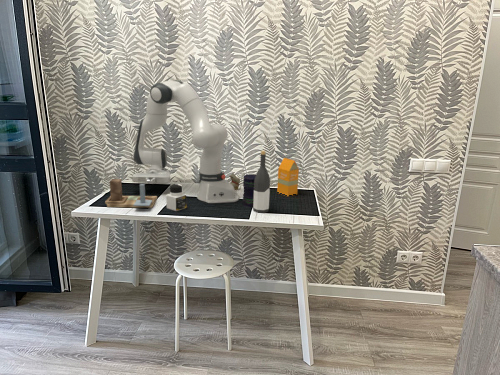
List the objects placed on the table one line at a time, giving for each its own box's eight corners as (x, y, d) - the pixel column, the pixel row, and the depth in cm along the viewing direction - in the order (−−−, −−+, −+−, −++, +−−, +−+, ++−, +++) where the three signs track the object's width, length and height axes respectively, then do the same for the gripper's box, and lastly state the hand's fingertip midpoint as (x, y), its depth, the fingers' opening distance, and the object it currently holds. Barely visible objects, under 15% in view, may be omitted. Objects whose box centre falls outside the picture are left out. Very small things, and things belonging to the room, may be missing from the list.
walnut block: (122, 199, 208) (121, 179, 205) (120, 202, 204) (118, 181, 201) (113, 199, 208) (112, 178, 205) (111, 202, 204) (109, 181, 201)
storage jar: (262, 207, 207) (263, 179, 203) (242, 207, 207) (243, 178, 203) (261, 201, 217) (262, 174, 213) (242, 201, 217) (243, 173, 212)
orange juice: (287, 196, 227) (289, 161, 221) (276, 192, 233) (278, 158, 227) (297, 194, 231) (299, 159, 226) (286, 190, 238) (288, 156, 232)
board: (158, 198, 216) (157, 194, 215) (153, 207, 203) (152, 202, 202) (113, 198, 215) (112, 193, 214) (105, 207, 201) (104, 201, 201)
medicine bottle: (176, 211, 198) (175, 187, 195) (166, 208, 203) (165, 185, 199) (186, 207, 204) (186, 184, 201) (176, 204, 208) (176, 182, 205)
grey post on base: (152, 201, 204) (151, 182, 201) (149, 206, 196) (148, 187, 194) (136, 200, 203) (136, 182, 200) (133, 205, 196) (132, 186, 193)
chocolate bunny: (238, 191, 233) (238, 174, 230) (224, 190, 235) (224, 173, 232) (240, 188, 238) (240, 172, 235) (227, 187, 240) (227, 171, 237)
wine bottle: (257, 206, 209) (260, 148, 200) (271, 209, 205) (274, 150, 196) (249, 211, 202) (251, 151, 194) (264, 214, 198) (266, 153, 190)
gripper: (134, 169, 227) (128, 175, 214) (171, 170, 228) (168, 176, 215) (135, 180, 229) (129, 187, 216) (172, 180, 230) (168, 188, 217)
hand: (149, 182), depth 215 cm, fingers closed
